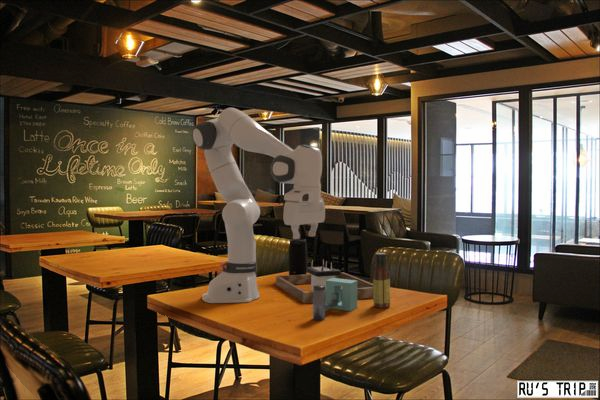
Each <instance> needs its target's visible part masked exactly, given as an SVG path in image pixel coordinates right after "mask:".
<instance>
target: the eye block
mask: <svg viewBox="0 0 600 400" xmlns="http://www.w3.org/2000/svg"><path fill="white" fill-rule="evenodd" d="M357 283H358V281H356V280H347V279H339V278H331V279H328V280H326V301H325V303H327V302H329V301H331V300H332V293H339V302H338V305H337V306H335V307H333V308H331V309H332V310H333V309H334V310H340V311H346V312H352V311H353V310H355V309H358V299H357ZM341 289H342V300H341Z"/></svg>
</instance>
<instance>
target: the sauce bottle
mask: <svg viewBox="0 0 600 400" xmlns="http://www.w3.org/2000/svg"><path fill="white" fill-rule="evenodd" d="M374 257H375V266H374V269H373V271H372V284H373V298H372V299H373V306H375V308H381V309H386V308H389V307H390V306H391V279H390V270H389V268H388V266H387V253H386V252H375V254H374Z"/></svg>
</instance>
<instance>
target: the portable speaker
mask: <svg viewBox="0 0 600 400" xmlns="http://www.w3.org/2000/svg"><path fill="white" fill-rule="evenodd" d="M307 245H308V244H307V239H306V238H303V239H302V238H300V239H293V238H291V239H289V245H288V246H289V247H288V275H305V274H308V272H307V267H308V246H307Z"/></svg>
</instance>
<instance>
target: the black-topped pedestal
mask: <svg viewBox="0 0 600 400" xmlns="http://www.w3.org/2000/svg"><path fill="white" fill-rule="evenodd" d="M332 265H333V263H332V262H329V261H327V260H326V261H325V260H324V259H319V260H316V259H315V260H313V263H311V266H307V274H311V283H310V284H311V285H310V292H311V291H313V286H315V285H323V286H325V290H326V280H328V279H331V278H335V276H337V275H341V271H342V270H340V269H338V268H337V269H336V268H333V266H332Z"/></svg>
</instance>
